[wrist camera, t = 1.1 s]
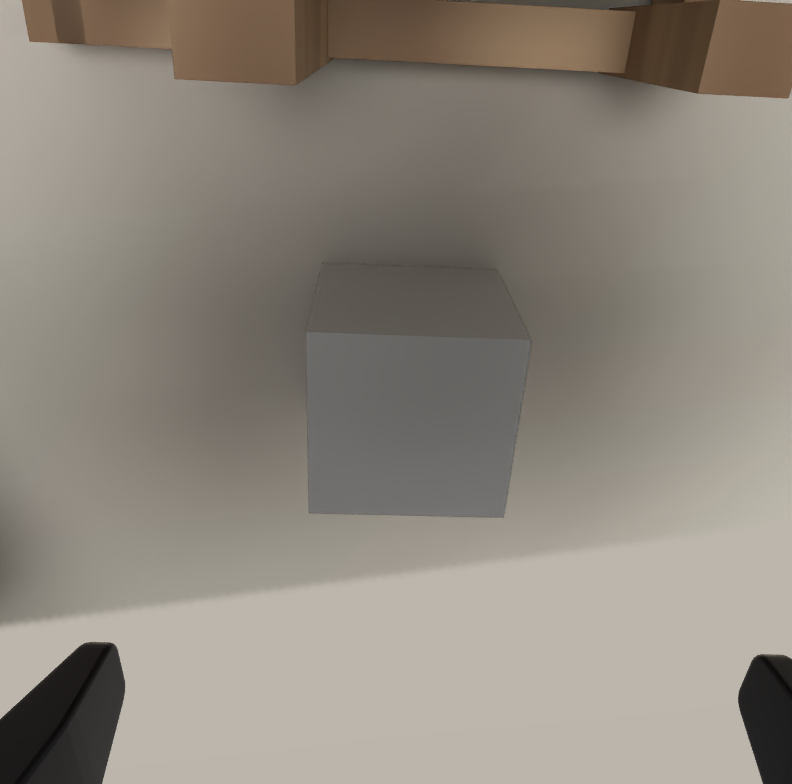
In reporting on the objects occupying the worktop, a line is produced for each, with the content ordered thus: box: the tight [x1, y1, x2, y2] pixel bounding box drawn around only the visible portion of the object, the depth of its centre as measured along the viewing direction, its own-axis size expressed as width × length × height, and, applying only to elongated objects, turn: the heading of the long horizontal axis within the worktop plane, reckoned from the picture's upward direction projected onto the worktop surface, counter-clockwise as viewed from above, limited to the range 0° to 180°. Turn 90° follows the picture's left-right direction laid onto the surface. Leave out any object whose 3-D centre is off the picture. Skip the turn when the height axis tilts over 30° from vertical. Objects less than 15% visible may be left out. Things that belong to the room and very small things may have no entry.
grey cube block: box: [306, 263, 532, 518], centre depth 18 cm, size 5×5×5 cm
